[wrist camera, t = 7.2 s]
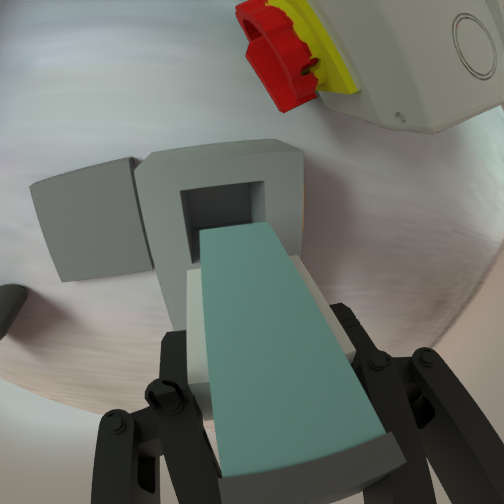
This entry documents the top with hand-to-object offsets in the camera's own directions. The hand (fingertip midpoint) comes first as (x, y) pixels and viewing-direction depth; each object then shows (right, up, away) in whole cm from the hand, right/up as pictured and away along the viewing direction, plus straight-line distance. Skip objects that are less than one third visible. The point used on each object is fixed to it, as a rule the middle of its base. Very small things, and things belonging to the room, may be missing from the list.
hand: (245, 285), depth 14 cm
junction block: (-3, +3, +16) cm, 16 cm away
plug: (-1, +1, +3) cm, 3 cm away
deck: (-17, +5, +12) cm, 21 cm away
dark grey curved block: (-37, -7, +14) cm, 40 cm away
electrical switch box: (+5, +22, +7) cm, 24 cm away
